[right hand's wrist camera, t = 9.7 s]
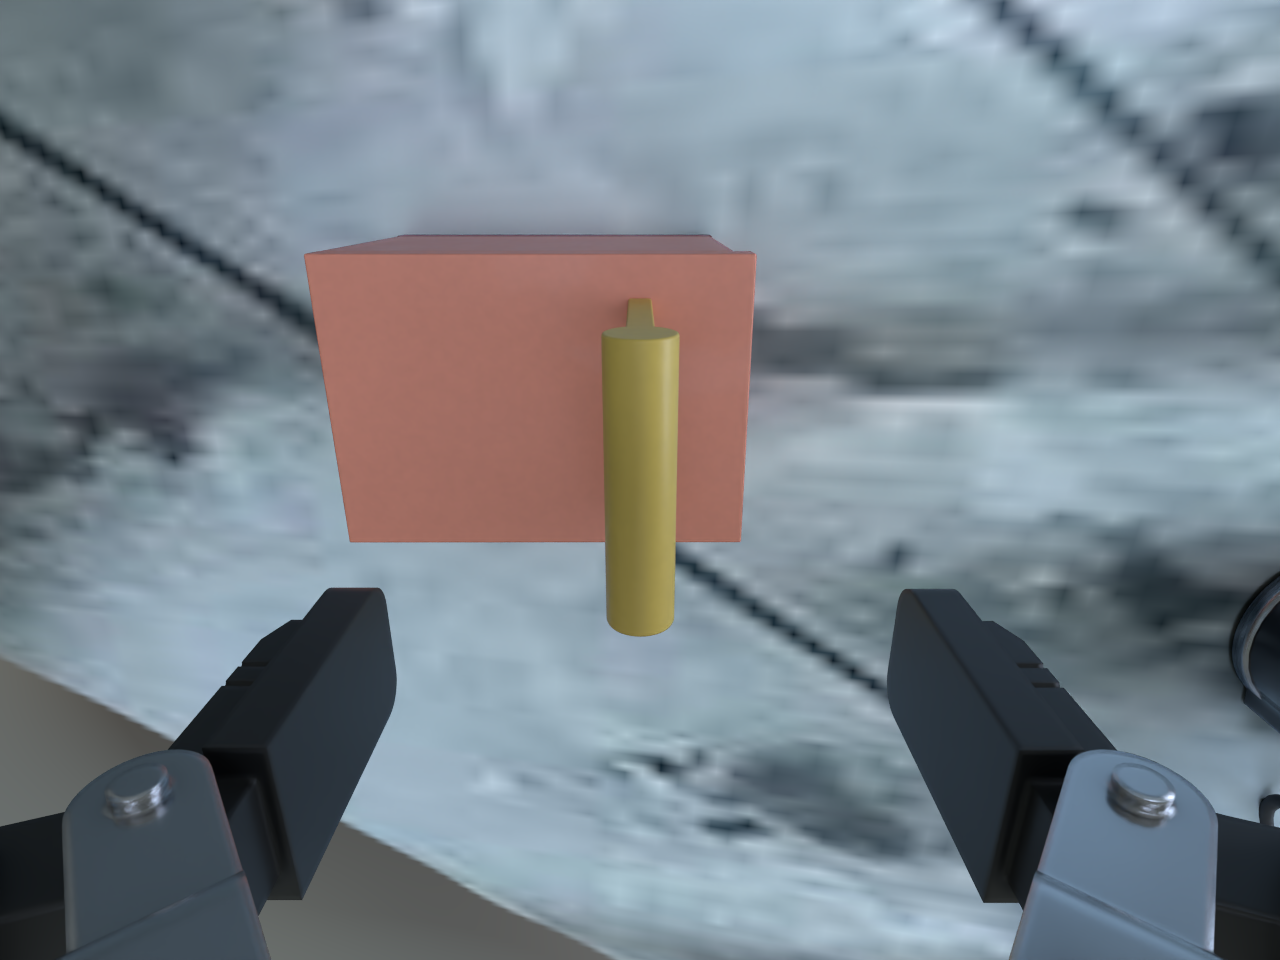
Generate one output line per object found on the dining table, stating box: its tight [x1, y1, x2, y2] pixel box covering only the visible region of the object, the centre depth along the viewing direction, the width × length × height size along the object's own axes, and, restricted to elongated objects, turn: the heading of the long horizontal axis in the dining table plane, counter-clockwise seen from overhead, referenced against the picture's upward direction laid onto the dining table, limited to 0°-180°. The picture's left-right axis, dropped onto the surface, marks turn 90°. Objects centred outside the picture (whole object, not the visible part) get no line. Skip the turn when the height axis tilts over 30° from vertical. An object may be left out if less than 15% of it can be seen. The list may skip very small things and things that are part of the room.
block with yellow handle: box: [304, 251, 757, 637], centre depth 20 cm, size 13×10×8 cm
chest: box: [324, 235, 732, 251], centre depth 29 cm, size 13×10×9 cm
